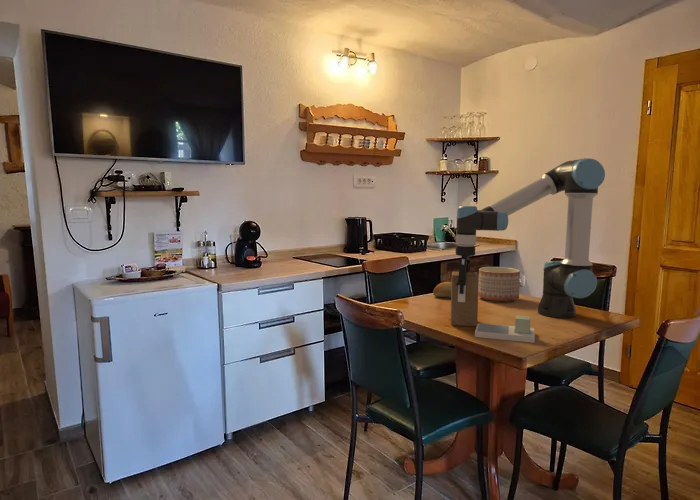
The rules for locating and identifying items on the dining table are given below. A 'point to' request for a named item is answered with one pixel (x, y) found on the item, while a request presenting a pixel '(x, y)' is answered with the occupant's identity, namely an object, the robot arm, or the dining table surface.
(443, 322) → the dining table surface
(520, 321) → the sage cube
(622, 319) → the dining table surface
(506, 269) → the planter
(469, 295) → the wooden block
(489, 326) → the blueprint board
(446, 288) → the bread roll
